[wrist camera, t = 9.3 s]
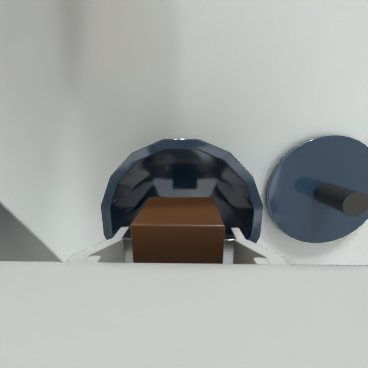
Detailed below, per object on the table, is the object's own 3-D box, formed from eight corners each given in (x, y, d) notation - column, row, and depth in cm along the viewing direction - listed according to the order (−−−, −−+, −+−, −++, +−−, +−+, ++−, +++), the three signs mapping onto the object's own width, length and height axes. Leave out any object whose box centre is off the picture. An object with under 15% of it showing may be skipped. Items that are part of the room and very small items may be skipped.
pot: (132, 140, 22) (92, 139, 13) (235, 140, 22) (270, 138, 12) (138, 233, 25) (109, 287, 16) (229, 234, 24) (254, 289, 15)
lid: (270, 136, 21) (296, 133, 16) (384, 135, 21) (449, 133, 16) (259, 237, 25) (279, 264, 19) (360, 238, 24) (407, 265, 19)
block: (149, 196, 13) (129, 224, 9) (212, 197, 13) (225, 225, 8) (151, 252, 14) (135, 303, 10) (210, 253, 14) (221, 304, 9)
